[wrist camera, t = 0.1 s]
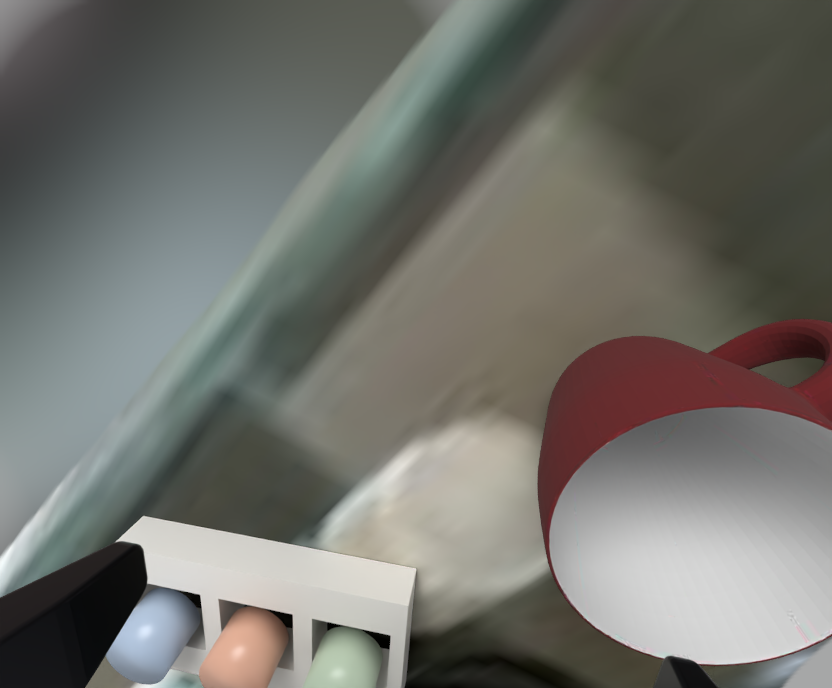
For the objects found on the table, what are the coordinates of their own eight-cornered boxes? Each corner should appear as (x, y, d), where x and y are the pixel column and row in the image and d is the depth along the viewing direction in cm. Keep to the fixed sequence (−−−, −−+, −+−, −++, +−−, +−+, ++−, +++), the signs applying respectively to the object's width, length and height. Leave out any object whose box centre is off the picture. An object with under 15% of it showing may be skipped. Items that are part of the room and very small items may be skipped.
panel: (406, 680, 29) (397, 722, 27) (159, 624, 32) (132, 659, 29) (416, 568, 26) (408, 606, 24) (143, 515, 29) (111, 545, 26)
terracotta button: (289, 659, 27) (265, 714, 24) (232, 646, 28) (201, 698, 25) (288, 613, 26) (262, 665, 23) (228, 600, 26) (196, 650, 24)
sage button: (381, 680, 26) (367, 739, 24) (320, 666, 27) (299, 722, 24) (384, 634, 25) (369, 690, 22) (320, 620, 26) (298, 674, 23)
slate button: (202, 639, 28) (169, 690, 25) (148, 627, 28) (109, 675, 26) (197, 594, 27) (162, 642, 24) (140, 582, 27) (99, 627, 24)
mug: (681, 212, 18) (870, 241, 9) (814, 350, 19) (1115, 511, 10) (488, 383, 22) (479, 530, 13) (607, 493, 23) (681, 708, 13)
